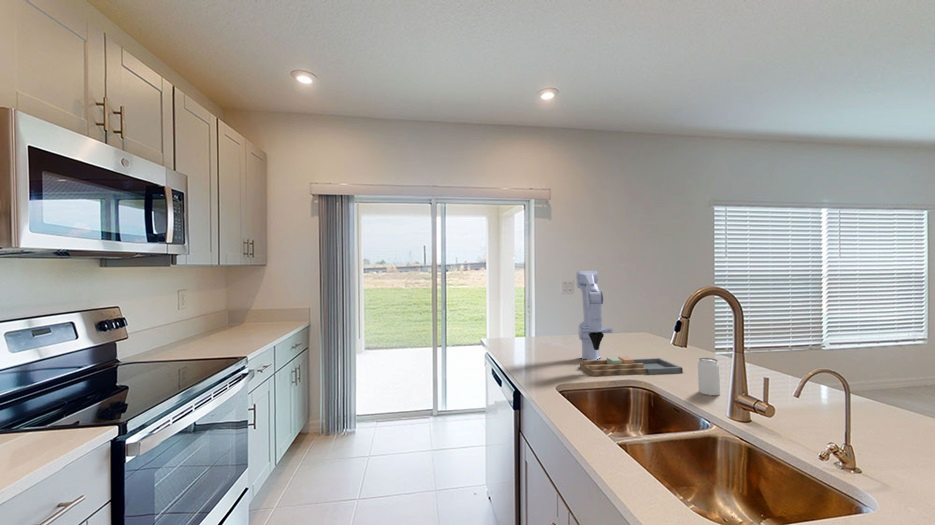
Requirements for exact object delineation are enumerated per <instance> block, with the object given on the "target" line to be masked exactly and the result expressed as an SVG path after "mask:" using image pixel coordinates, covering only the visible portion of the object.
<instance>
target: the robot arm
mask: <svg viewBox="0 0 935 525" xmlns="http://www.w3.org/2000/svg"><path fill="white" fill-rule="evenodd" d="M598 278H599V276H598V271H597V270H583V271H580V270H577V271H576V278H575V279H576V286H577V288H578V289H580V292H581V295H582V296H581V297H582V311H583V313H582V315H583V321H582V322H581V323H579V325H578V340H580V341H581V357H582V359H581V360H583V359H587V360H597V359H598V360H600V359H601V358H602V355H601V354H600V351H601V350H600V345H601V342H602V340H603V338H604V336H605V335H604V334H606V333H607V334H608V333H609V334H612V333H614V332H613V328H612V327H603V304H604V294H603V291H601V290H600V289H599V285H598V280H599V279H598ZM599 358H600V359H599ZM587 360H586V361H587Z"/></svg>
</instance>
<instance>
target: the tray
mask: <svg viewBox="0 0 935 525" xmlns="http://www.w3.org/2000/svg"><path fill="white" fill-rule="evenodd" d="M633 359H634V363H643V364H644V368H646V369H647V374H646V375H662V374H682V373H684V372H683V370H684V369H683V367H682V366H679V365H677V364H675V363H672V362H671V361H670V362H669V361H667V360H665V359H663V358H661V357H656V358H655V357H653V358H633Z"/></svg>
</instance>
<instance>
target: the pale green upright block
mask: <svg viewBox="0 0 935 525" xmlns="http://www.w3.org/2000/svg"><path fill="white" fill-rule="evenodd" d="M606 360H607V364H608V365H613V364H622V360H620V359H618V357H616V356H610V357H609V356H607V357H606Z"/></svg>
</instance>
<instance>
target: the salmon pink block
mask: <svg viewBox="0 0 935 525" xmlns="http://www.w3.org/2000/svg"><path fill="white" fill-rule="evenodd" d="M617 358H618V359H620V360H622V364H634V360H633V359H634V358H631V357H629V356H617Z"/></svg>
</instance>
